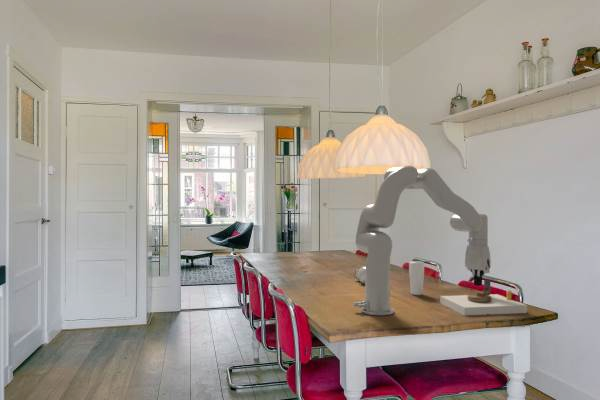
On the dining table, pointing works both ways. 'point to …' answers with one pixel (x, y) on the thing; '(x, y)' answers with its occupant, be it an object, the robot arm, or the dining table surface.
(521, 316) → the dining table surface
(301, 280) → the dining table surface
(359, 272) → the potion bottle
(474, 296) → the brown l-shaped piece
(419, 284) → the drinking glass
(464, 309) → the stand
